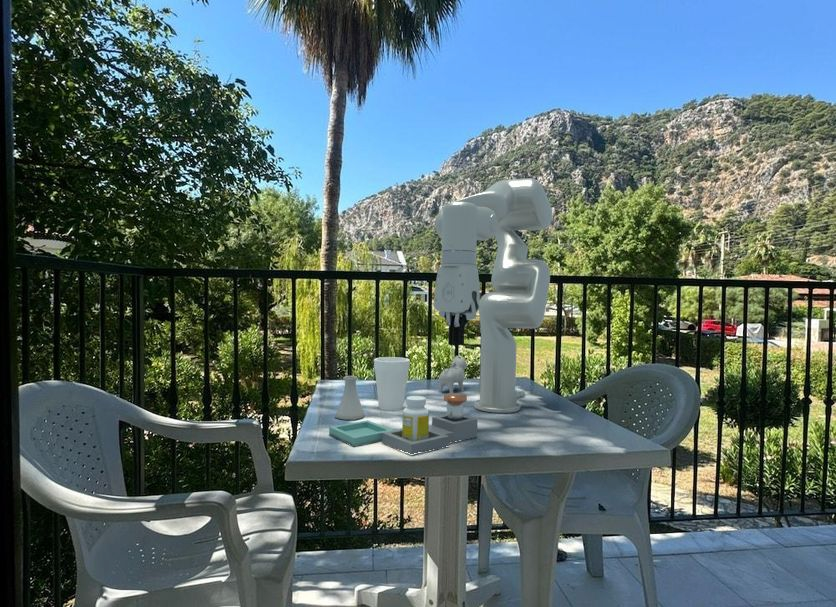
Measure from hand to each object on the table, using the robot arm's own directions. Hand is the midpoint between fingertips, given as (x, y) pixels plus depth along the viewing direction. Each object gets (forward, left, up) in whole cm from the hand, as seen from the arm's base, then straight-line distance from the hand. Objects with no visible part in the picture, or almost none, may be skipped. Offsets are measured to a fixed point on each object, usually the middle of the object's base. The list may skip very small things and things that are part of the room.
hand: (456, 344), depth 114 cm
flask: (+10, -27, -20) cm, 35 cm away
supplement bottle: (+11, 0, -20) cm, 23 cm away
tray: (+17, -11, -20) cm, 28 cm away
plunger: (0, 0, -18) cm, 18 cm away
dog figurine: (-34, -37, -20) cm, 54 cm away
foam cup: (-4, -29, -20) cm, 36 cm away
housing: (+6, 0, -20) cm, 21 cm away
